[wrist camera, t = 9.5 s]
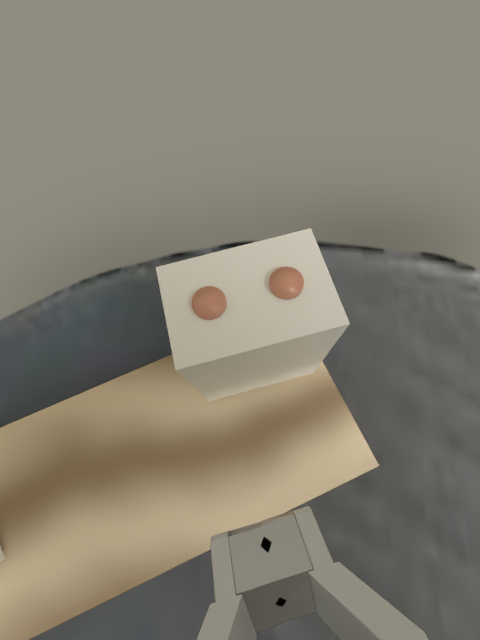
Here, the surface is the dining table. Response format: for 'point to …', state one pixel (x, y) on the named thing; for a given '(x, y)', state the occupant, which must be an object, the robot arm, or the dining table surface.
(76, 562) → the digit board
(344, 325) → the tile two
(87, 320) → the dining table surface
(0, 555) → the tile one
